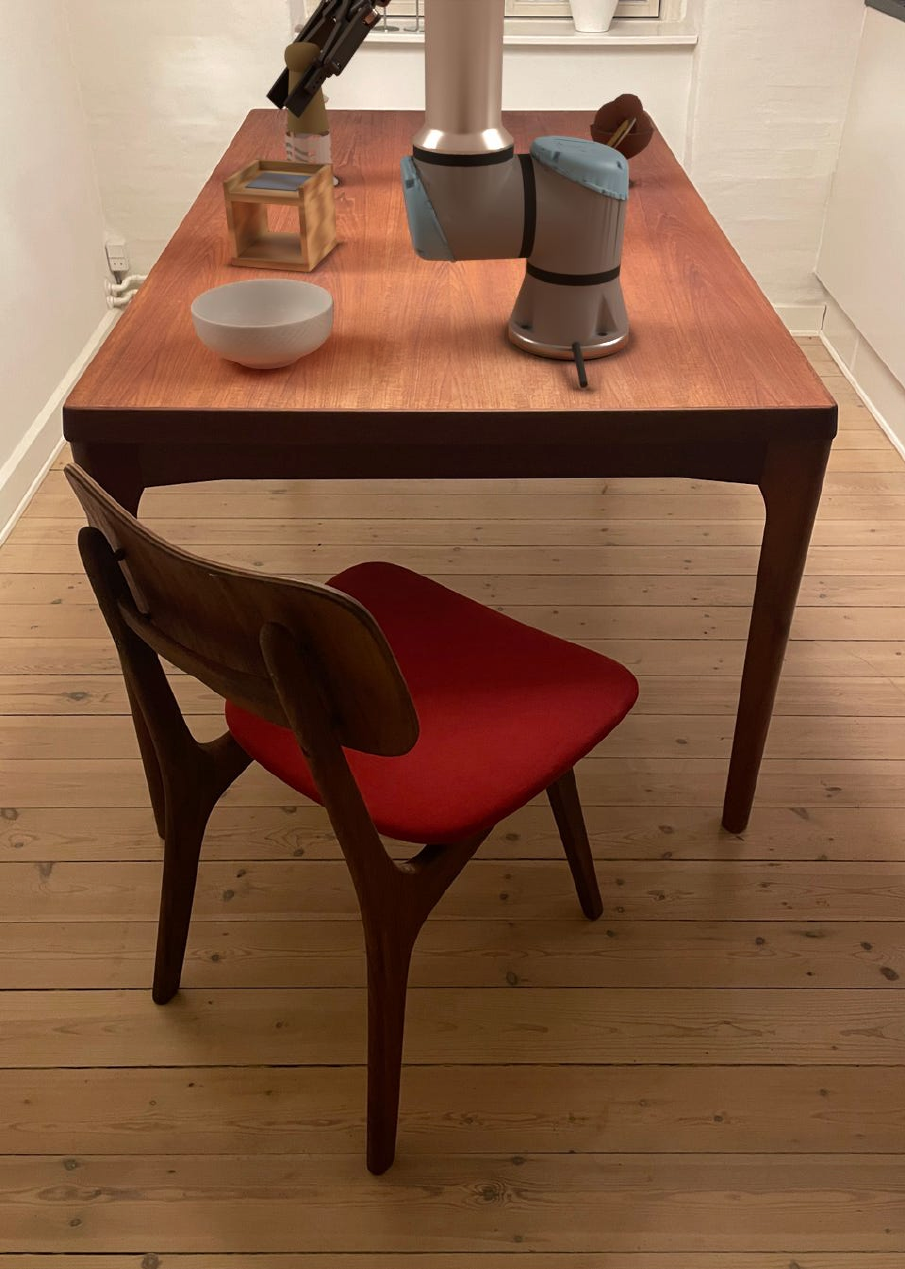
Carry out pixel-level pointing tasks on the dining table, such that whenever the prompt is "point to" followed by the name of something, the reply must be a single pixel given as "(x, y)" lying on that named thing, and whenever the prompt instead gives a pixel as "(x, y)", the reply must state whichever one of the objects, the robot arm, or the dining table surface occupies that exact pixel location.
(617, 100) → the ice cream bowl
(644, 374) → the dining table surface
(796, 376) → the dining table surface
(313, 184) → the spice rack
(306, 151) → the french press
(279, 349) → the cereal bowl
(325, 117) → the olive pawn piece
